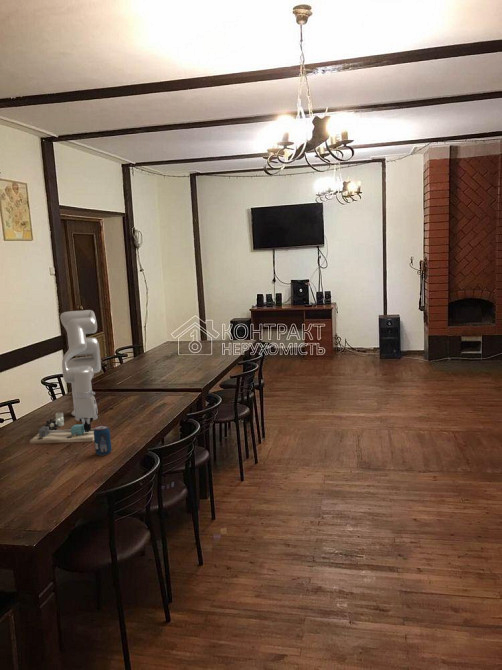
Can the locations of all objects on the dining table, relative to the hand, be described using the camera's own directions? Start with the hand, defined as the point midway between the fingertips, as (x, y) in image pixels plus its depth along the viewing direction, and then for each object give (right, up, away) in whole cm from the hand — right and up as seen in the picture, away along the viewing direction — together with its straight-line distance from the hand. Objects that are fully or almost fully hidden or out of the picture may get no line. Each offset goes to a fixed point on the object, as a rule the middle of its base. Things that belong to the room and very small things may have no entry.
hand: (87, 431), depth 261 cm
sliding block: (-5, -1, -1) cm, 5 cm away
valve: (-21, -1, +16) cm, 26 cm away
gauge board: (-10, -3, -1) cm, 11 cm away
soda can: (+14, -6, -23) cm, 28 cm away
